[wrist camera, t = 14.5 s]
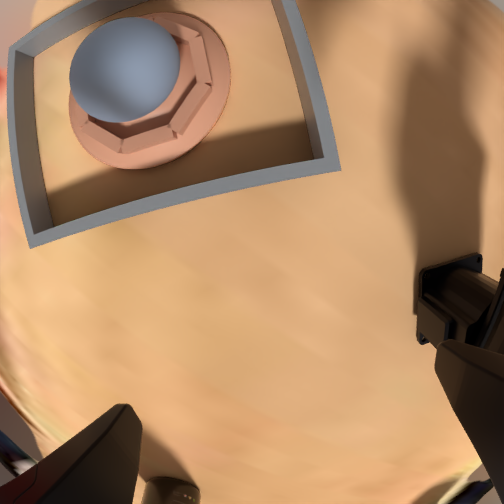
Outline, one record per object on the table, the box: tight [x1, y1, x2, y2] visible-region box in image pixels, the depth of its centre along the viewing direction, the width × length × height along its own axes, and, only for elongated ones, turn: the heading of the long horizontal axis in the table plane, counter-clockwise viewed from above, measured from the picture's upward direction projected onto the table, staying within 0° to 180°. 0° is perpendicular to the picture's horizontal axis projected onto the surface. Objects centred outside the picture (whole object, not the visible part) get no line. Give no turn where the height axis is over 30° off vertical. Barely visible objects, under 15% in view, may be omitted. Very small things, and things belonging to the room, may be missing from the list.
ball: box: [69, 17, 180, 123], centre depth 12 cm, size 6×6×6 cm
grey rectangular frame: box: [7, 0, 341, 249], centre depth 14 cm, size 20×16×2 cm
